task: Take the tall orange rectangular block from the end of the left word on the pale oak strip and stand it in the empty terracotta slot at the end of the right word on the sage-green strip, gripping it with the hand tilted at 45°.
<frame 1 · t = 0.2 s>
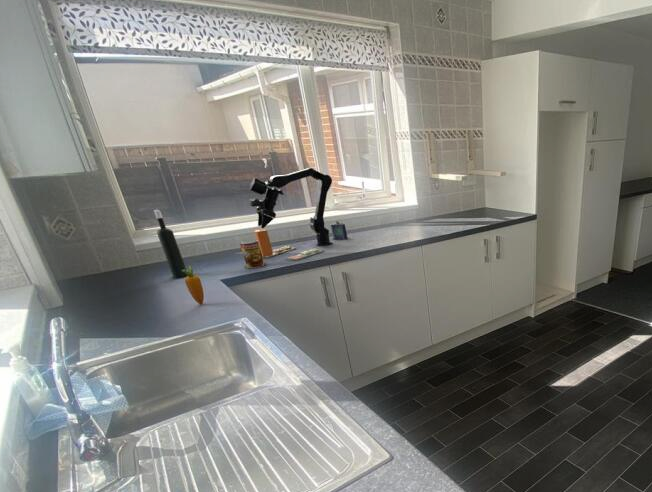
hand: (260, 227, 223), 15 cm above the countertop, tool tilted 30°, fingers open, 9 cm apart
canned food: (255, 265, 209), on the countertop
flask: (340, 238, 260), on the countertop
left word: (277, 252, 232), on the countertop
orange rectangular block: (267, 254, 226), point 1 cm above the countertop, touching left word
carrot: (201, 305, 161), on the countertop
wine bottle: (181, 276, 196), on the countertop
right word: (305, 255, 225), on the countertop
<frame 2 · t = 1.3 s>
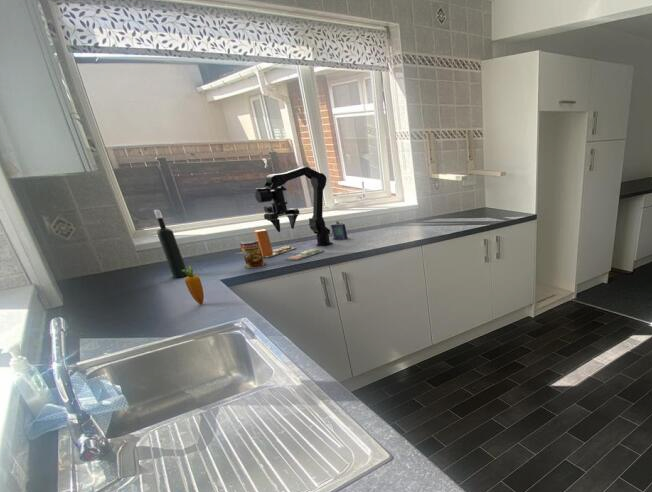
hand: (286, 230, 227), 12 cm above the countertop, tool pointing down, fingers open, 9 cm apart
nothing on the countertop moved.
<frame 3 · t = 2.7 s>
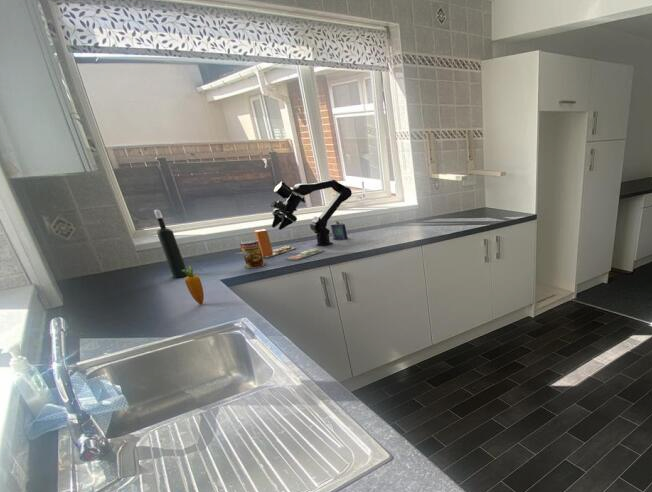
hand: (275, 228, 225), 13 cm above the countertop, tool tilted 45°, fingers open, 9 cm apart
nothing on the countertop moved.
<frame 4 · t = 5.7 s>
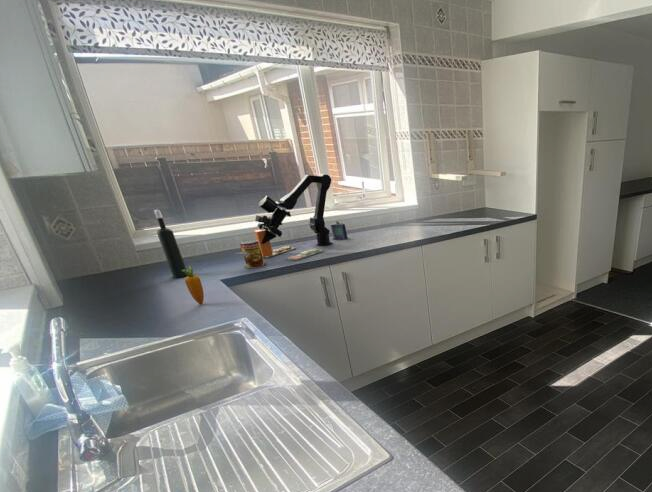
hand: (260, 242, 222), 7 cm above the countertop, tool tilted 45°, fingers closed on orange rectangular block, 4 cm apart
orange rectangular block: (266, 254, 226), point 1 cm above the countertop, touching gripper, left word
everything else where it was.
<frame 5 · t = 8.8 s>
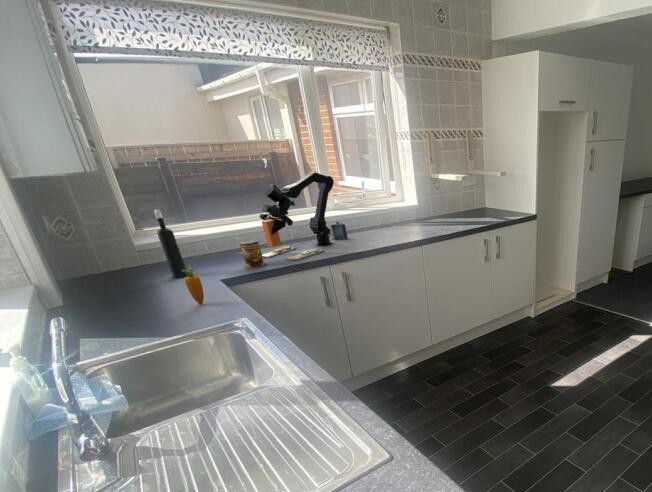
hand: (269, 233, 215), 13 cm above the countertop, tool tilted 45°, fingers closed on orange rectangular block, 4 cm apart
orange rectangular block: (274, 245, 219), point 6 cm above the countertop, touching gripper
everything else where it was.
when the fingers open (7 cm above the countertop, at t = 12.3 s): orange rectangular block stays where it is, resting on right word.
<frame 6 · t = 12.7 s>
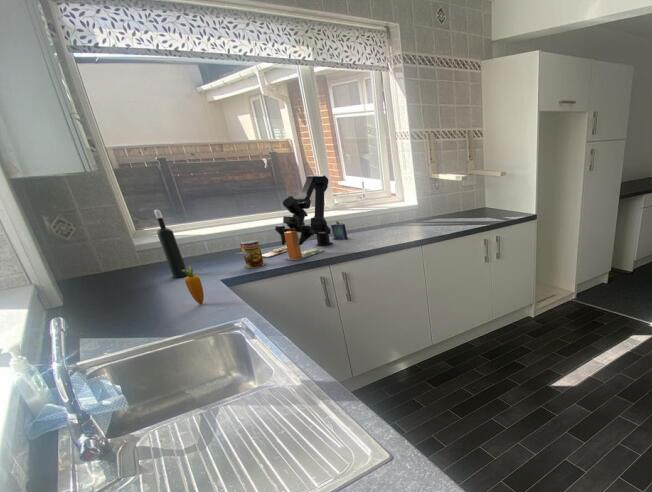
hand: (291, 244, 215), 8 cm above the countertop, tool tilted 45°, fingers open, 9 cm apart
orange rectangular block: (295, 256, 219), point 1 cm above the countertop, touching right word
everything else where it was.
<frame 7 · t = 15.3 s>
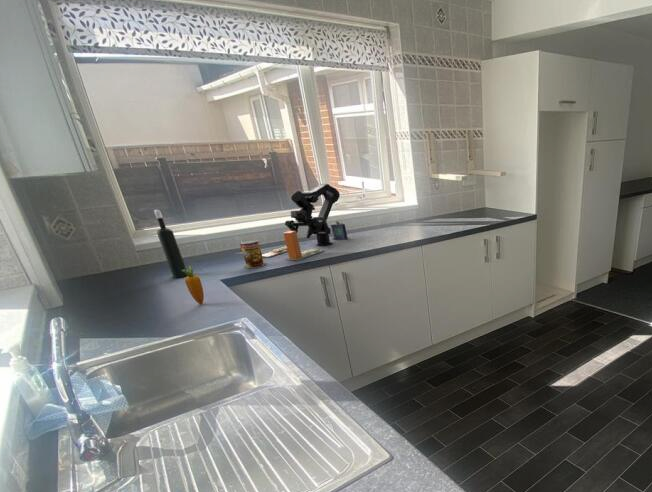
hand: (300, 238, 223), 9 cm above the countertop, tool tilted 45°, fingers open, 9 cm apart
nothing on the countertop moved.
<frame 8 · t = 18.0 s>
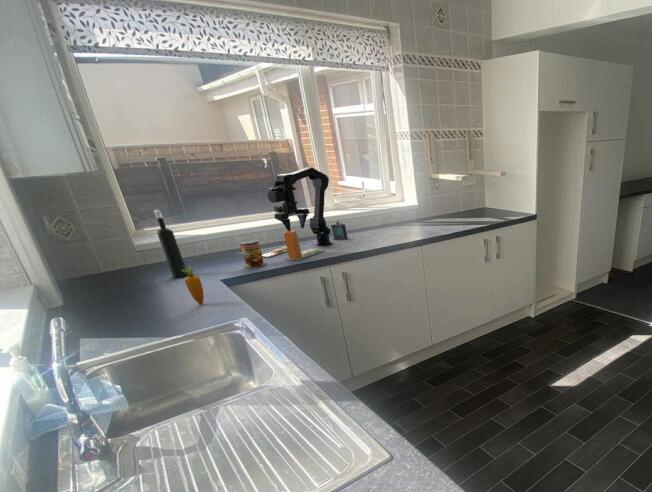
hand: (296, 230, 227), 12 cm above the countertop, tool pointing down, fingers open, 9 cm apart
nothing on the countertop moved.
at the end: orange rectangular block 0.2 cm from the target spot, point 0.8 cm above the countertop; orange rectangular block tilted 0°; the gripper is holding nothing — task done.
